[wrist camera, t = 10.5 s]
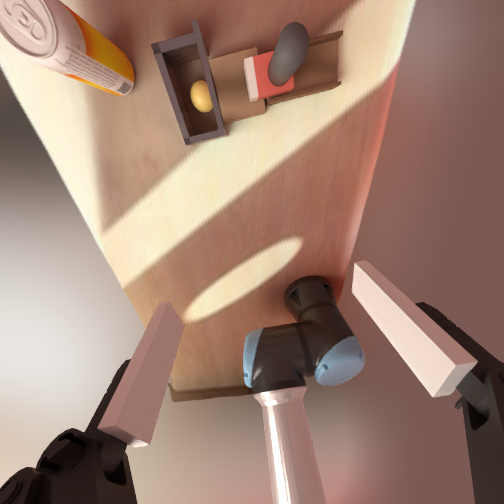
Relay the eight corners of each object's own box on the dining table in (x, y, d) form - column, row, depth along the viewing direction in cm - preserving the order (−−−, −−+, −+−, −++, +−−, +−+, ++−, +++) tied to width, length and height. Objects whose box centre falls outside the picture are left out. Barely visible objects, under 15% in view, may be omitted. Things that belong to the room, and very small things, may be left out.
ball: (191, 116, 31) (208, 114, 33) (205, 109, 29) (223, 107, 31) (181, 85, 29) (200, 86, 31) (196, 75, 26) (216, 76, 29)
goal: (227, 136, 35) (225, 134, 28) (192, 145, 35) (181, 145, 28) (206, 47, 28) (197, 18, 22) (163, 59, 29) (142, 34, 22)
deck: (264, 113, 33) (265, 111, 31) (224, 123, 34) (223, 122, 32) (255, 52, 29) (256, 46, 27) (210, 64, 29) (208, 59, 28)
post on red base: (289, 91, 30) (312, 68, 21) (249, 102, 30) (255, 83, 21) (286, 55, 28) (311, 9, 18) (243, 66, 28) (246, 27, 19)
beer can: (106, 32, 27) (-13, -68, 14) (144, 74, 30) (72, 21, 17) (87, 70, 29) (-33, 11, 16) (124, 106, 31) (46, 80, 19)
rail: (332, 88, 32) (341, 84, 29) (266, 106, 33) (268, 102, 30) (333, 40, 29) (343, 30, 26) (260, 60, 30) (262, 52, 27)
